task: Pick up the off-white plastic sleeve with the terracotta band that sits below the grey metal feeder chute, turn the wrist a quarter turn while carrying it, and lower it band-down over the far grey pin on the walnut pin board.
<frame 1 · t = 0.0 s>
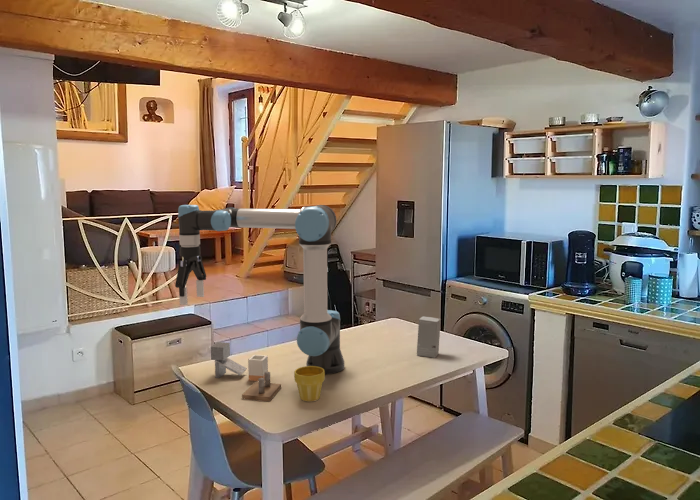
hand: (192, 300, 214), 28 cm above the table, fingers open, 13 cm apart
plant pot: (309, 398, 192), on the table
feeder chute: (231, 375, 212), on the table
sleeve: (258, 378, 210), on the table
skincare box: (428, 355, 237), on the table
pin board: (262, 393, 196), on the table
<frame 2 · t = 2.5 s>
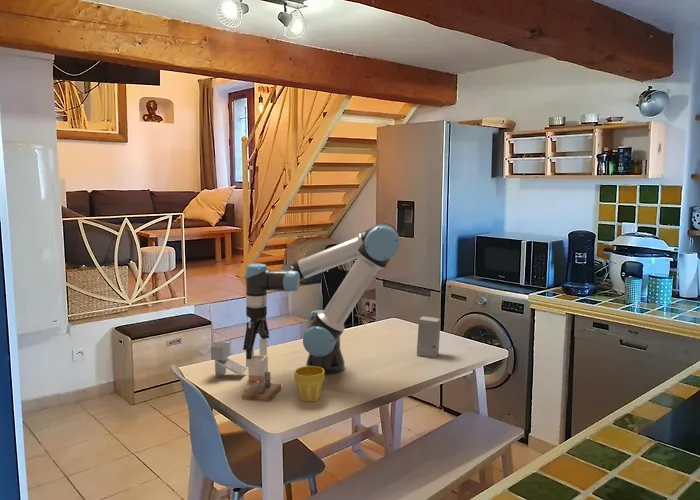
hand: (256, 360, 209), 7 cm above the table, fingers open, 13 cm apart
nothing on the table moved.
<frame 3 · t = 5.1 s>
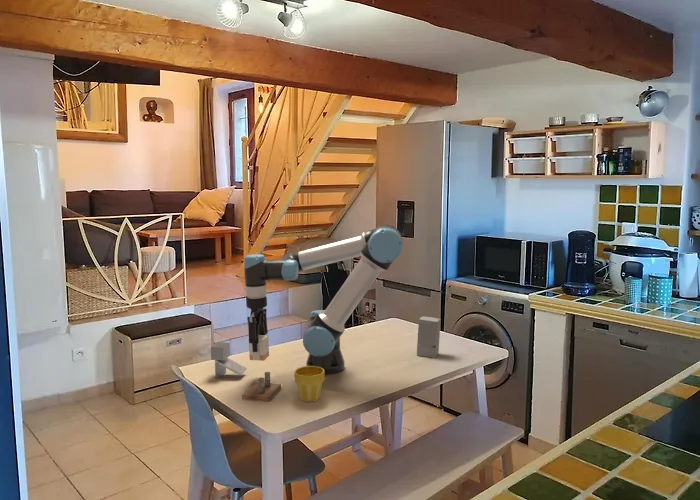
hand: (259, 356, 209), 8 cm above the table, fingers closed on sleeve, 6 cm apart
sleeve: (259, 357, 209), point 8 cm above the table, touching gripper
everything else where it was.
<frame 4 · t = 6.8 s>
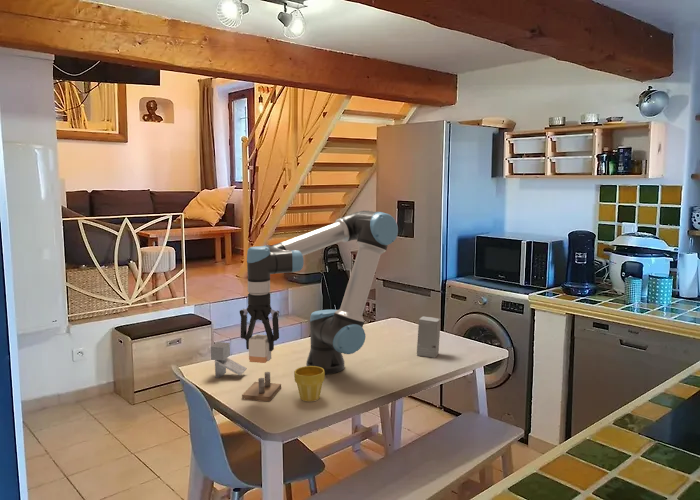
hand: (260, 359, 191), 14 cm above the table, fingers closed on sleeve, 6 cm apart
sleeve: (260, 359, 191), point 13 cm above the table, touching gripper
everything else where it was.
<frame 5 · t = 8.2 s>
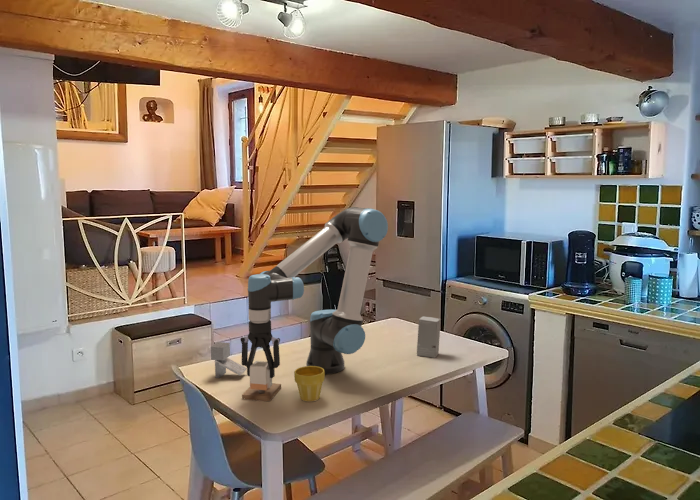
hand: (261, 385, 192), 4 cm above the table, fingers closed on sleeve, 6 cm apart
sleeve: (261, 386, 192), point 4 cm above the table, touching gripper
everything else where it was.
when the fingers open (3 cm above the table, at t = 9.0 s): sleeve drops 2 cm, resting on pin board.
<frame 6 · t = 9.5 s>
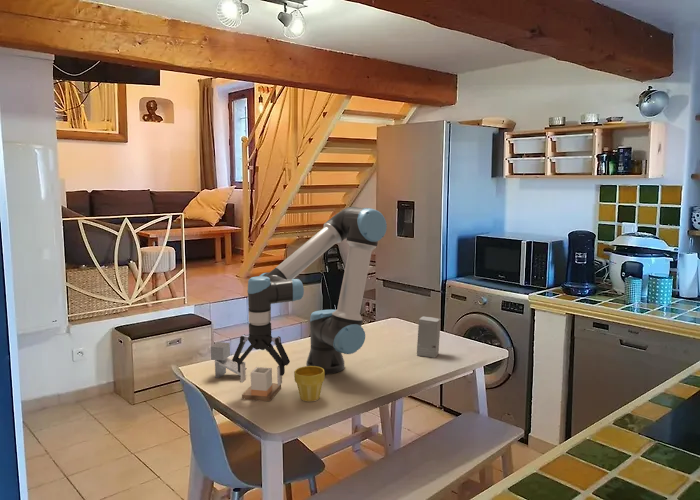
hand: (261, 382, 192), 5 cm above the table, fingers open, 13 cm apart
sleeve: (261, 392, 192), point 1 cm above the table, touching pin board
everything else where it was.
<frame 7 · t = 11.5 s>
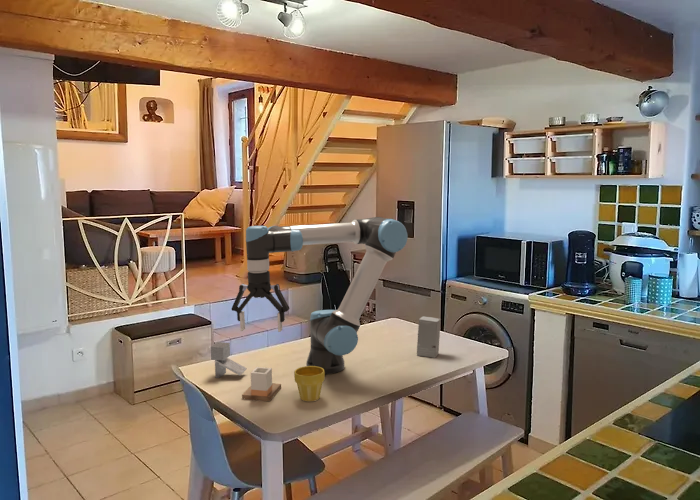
hand: (261, 330, 195), 22 cm above the table, fingers open, 13 cm apart
nothing on the table moved.
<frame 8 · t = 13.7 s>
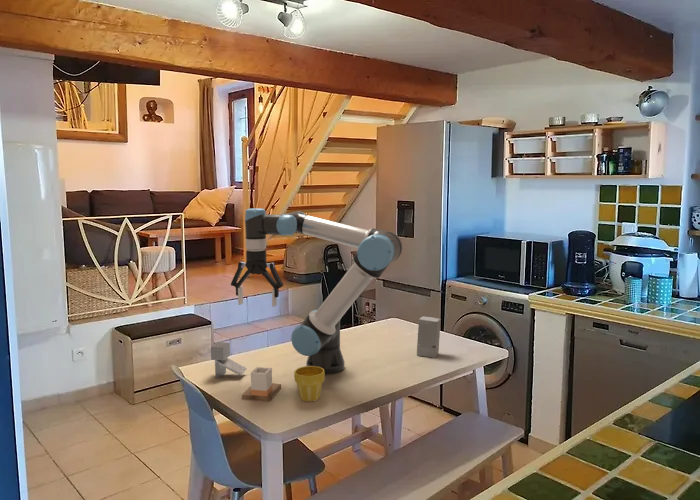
hand: (257, 304, 212), 27 cm above the table, fingers open, 13 cm apart
nothing on the table moved.
at the end: sleeve 0.1 cm from the target spot on the pin board, point 1.5 cm above the pin board's base; sleeve tilted 0°; the gripper is holding nothing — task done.
